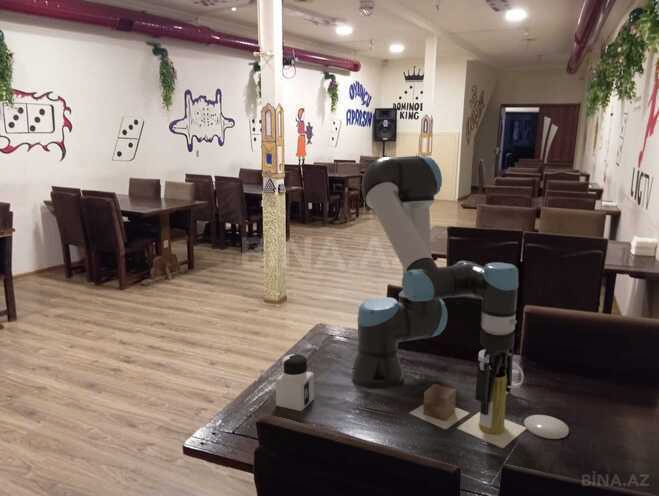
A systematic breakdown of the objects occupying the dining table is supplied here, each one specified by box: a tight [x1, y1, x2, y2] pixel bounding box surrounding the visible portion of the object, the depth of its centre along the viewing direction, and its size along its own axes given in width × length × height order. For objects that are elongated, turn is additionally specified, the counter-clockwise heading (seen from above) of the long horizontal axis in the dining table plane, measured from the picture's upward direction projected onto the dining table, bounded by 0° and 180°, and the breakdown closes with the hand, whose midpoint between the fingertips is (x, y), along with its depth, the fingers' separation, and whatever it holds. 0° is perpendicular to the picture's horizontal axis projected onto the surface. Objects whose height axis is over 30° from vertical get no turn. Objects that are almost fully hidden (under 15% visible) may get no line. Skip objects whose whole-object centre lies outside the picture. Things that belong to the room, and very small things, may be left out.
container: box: [275, 353, 315, 412], centre depth 137 cm, size 8×8×13 cm
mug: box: [478, 349, 525, 396], centre depth 142 cm, size 9×12×11 cm
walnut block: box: [423, 383, 457, 421], centre depth 131 cm, size 6×6×6 cm
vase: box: [479, 368, 507, 434], centre depth 123 cm, size 6×6×14 cm
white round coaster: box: [523, 414, 570, 440], centre depth 125 cm, size 10×10×1 cm
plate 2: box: [456, 411, 527, 449], centre depth 125 cm, size 12×12×1 cm
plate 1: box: [409, 403, 470, 430], centre depth 132 cm, size 11×11×1 cm
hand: (492, 420), depth 124 cm, fingers closed on vase, 6 cm apart
